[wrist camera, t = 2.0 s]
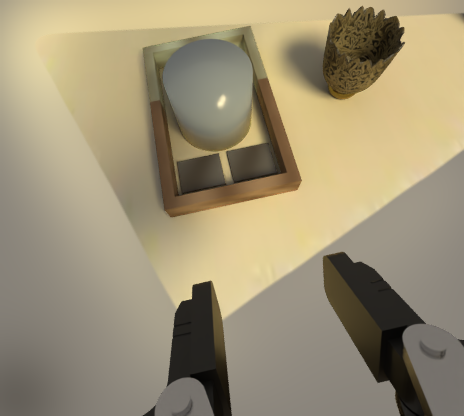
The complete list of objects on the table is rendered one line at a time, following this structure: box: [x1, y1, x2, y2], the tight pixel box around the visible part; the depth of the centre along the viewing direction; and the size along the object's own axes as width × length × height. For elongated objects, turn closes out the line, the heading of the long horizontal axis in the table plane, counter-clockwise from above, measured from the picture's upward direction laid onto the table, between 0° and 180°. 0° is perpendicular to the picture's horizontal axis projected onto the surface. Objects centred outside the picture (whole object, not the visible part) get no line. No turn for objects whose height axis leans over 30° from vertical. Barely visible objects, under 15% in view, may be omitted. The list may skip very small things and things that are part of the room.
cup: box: [323, 6, 405, 99], centre depth 31 cm, size 8×7×8 cm
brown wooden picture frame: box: [143, 26, 302, 217], centre depth 33 cm, size 14×23×2 cm, turn 12°
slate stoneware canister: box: [163, 39, 253, 151], centre depth 30 cm, size 9×9×8 cm
